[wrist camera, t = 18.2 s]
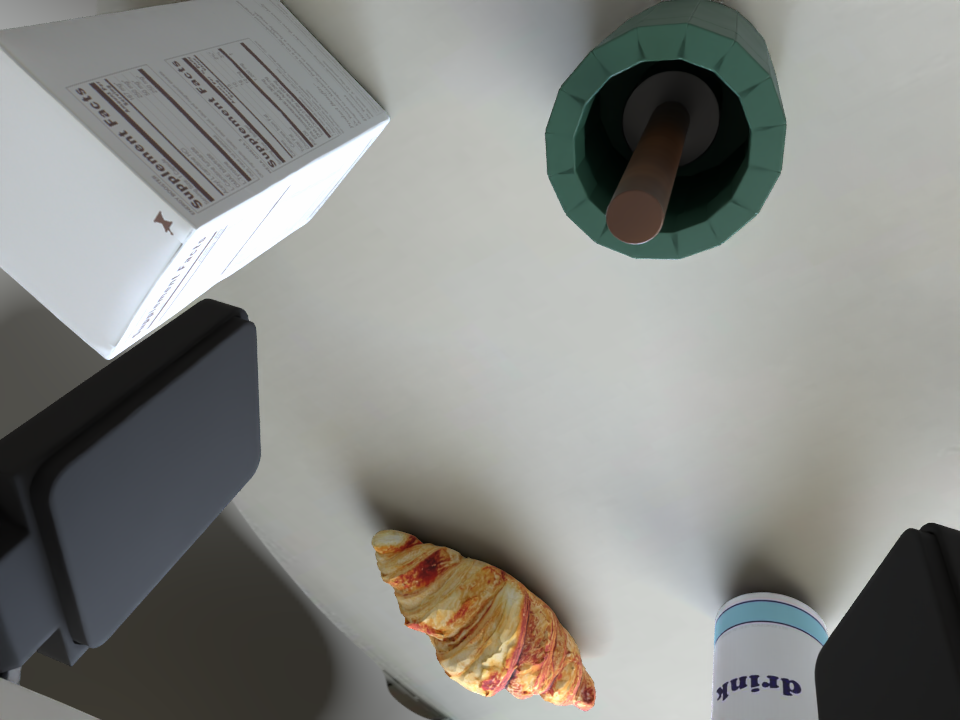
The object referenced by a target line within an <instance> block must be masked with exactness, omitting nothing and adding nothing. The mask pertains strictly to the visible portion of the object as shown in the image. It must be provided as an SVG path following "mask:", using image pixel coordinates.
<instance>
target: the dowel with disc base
mask: <svg viewBox="0 0 960 720" xmlns="http://www.w3.org/2000/svg"><path fill="white" fill-rule="evenodd" d="M722 99H723V94H722V87H721V84H720V81H719V79H718V77H717V75H716V74H715V73H714V72H713V71H710V70H707V69H705V68H702V67H699V66H697V65H694V64H691V63H689V62H686V61H683V60H680V59H677V60H662V61H659V62H657V63H655V64H654V65H653V66H651V67H650V68H649V69H648V70H647V71H646V72H645V73H644V75H643V76H642V77H641V79H640V80H639V82H638V83H637V85H636V86H635V88H634V89H633V91H632V92H631V94H630V96H629V97H628V99H627V101H626V103H625V106H624V109H623V114H622V131H623V136H624V139H625V141H626V143H627V145H628V147H629V148H630V150H631V151H632V152H633V155H632V157H631V159H630V161H629V163H628V166H627V168H626V170H625V172H624V174H623V176H622V178H621V180H620V182H619V184H618V187H617V189H616V191H615V193H614V195H613V197H612V199H611V201H610V203H609V205H608V208H607V211H606V222H607V226H608V228H609V230H610V232H611V233H612V234H613V235H614V236H615V237H616V238H617V239H619V240H620V241H622V242H625V243H628V244H642V243H645V242H647V241H649V240H651V239H653V238H654V237H655V236H656V235H657V234H658V233H659V231H660V230H661V228H662V225H663V222H664V218H665V214H666V210H667V206H668V203H669V199H670V195H671V191H672V188H673V184H674V180H675V176H676V172H677V169H678V167H682V166H685V165H687V164H690V163H692V162H693V161H695V160H697V159H698V158H699V157H701V156H702V155H703V154H704V153H705V152H706V151H707V150H708V149H709V147H710V146H711V145H712V143H713V141H714V140H715V138H716V135H717V133H718V129H719V126H720V118H721V109H722Z"/></svg>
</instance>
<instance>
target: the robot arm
mask: <svg viewBox="0 0 960 720" xmlns="http://www.w3.org/2000/svg"><path fill="white" fill-rule="evenodd" d="M260 457H261V445H260V418H259V390H258V363H257V335H256V327H255V325H254V323H253V322H251V321H249V320H248V315H247V313H246V311H244V310H243V309H241V308H238V307H235V306H232V305H229V304H225V303H222V302H219V301H216V300H212V299H204V300H202V301H200V302H198V303H197V304H195V305H194V306H193V307H191V308H190V309H188V310H187V311H185V312H184V313H182V314H181V315H180V316H178V317H177V318H175V319H174V320H172V321H171V322H169V323H168V324H167V325H165V326H164V327H162V328H161V329H159V330H158V331H157V332H155V333H154V334H152V335H151V336H149V337H148V338H146V339H145V340H144V341H142V342H141V343H139V344H138V345H136V346H135V347H133V348H132V349H131V350H129V351H128V352H126V353H125V354H123V355H122V356H121V357H119V358H118V359H116V360H115V361H113V362H112V363H111V364H109V365H108V366H106V367H105V368H103V369H102V370H100V371H99V372H98V373H96V374H95V375H93V376H92V377H90V378H89V379H87V380H86V381H85V382H83V383H82V384H80V385H79V386H77V387H76V388H74V389H73V390H72V391H70V392H69V393H67V394H66V395H64V396H63V397H61V398H60V399H59V400H57V401H56V402H54V403H53V404H51V405H50V406H49V407H47V408H46V409H44V410H43V411H42V412H40V413H38V414H37V415H36V416H34V417H33V418H31V419H30V420H28V421H27V422H26V423H24V424H23V425H21V426H20V427H18V428H17V429H15V430H14V431H13V432H11V433H10V434H8V435H7V436H5V437H4V438H2V439H1V440H0V720H100V719H98V718H96V717H93V716H91V715H89V714H86V713H84V712H82V711H79V710H77V709H74V708H73V707H70V706H68V705H65V704H63V703H61V702H58V701H56V700H53V699H51V698H49V697H46V696H43V695H41V694H39V693H36V692H34V691H32V690H29V689H27V688H24V687H22V686H19V684H20V675H21V666H22V665H23V664H24V663H25V662H26V661H27V660H28V659H29V657H31V656H32V654H33V653H34V652H35V651H36V650H37V652H38V653H41V654H43V655H45V656H48V657H50V658H52V659H55V660H57V661H59V662H62V663H64V664H66V665H69V666H73V664H74V663H75V662H76V661H77V660H78V659H79V658H80V657H81V656H82V654H83V653H84V652H85V651H86V650H87V649H88V648H89V647H91V648H96V647H99V646H100V645H102V644H103V643H104V642H106V640H108V639H109V638H110V636H111V635H112V634H113V633H114V632H115V631H116V630H117V629H118V627H119V626H120V625H121V624H122V623H123V622H124V621H125V620H126V618H127V617H128V616H129V615H130V614H131V613H132V612H133V611H134V609H135V608H136V607H137V606H138V605H139V604H140V603H141V602H142V600H143V599H144V598H145V597H146V596H147V595H148V594H149V593H150V591H151V590H152V589H153V588H154V587H155V586H156V585H157V583H158V582H159V581H160V580H161V579H162V578H163V577H164V576H165V575H166V573H167V572H168V571H169V570H170V569H171V568H172V567H173V565H174V564H175V563H176V562H177V561H178V560H179V559H180V558H181V556H182V555H183V554H184V553H185V552H186V551H187V550H188V549H189V547H190V546H191V545H192V544H193V543H194V542H195V541H196V539H197V538H198V537H199V536H200V535H201V534H202V533H203V532H204V531H205V529H206V528H207V527H208V526H209V525H210V524H211V522H212V521H213V520H214V519H215V518H216V517H217V516H218V515H219V514H220V512H221V511H222V510H223V509H224V508H225V507H226V506H227V504H228V503H229V502H230V501H231V500H232V499H233V498H234V497H235V496H236V495H237V493H238V492H239V491H240V490H241V489H242V488H243V487H244V485H245V484H246V483H247V482H248V481H249V480H250V479H251V478H252V476H253V475H254V473H255V471H256V470H257V467H258V465H259V462H260ZM814 674H815V688H816V698H817V709H818V719H819V720H960V531H958V530H955V529H952V528H948V527H945V526H942V525H939V524H936V523H927V524H926V525H924V526H922V527H921V529H920V530H917V529H913V528H909V529H907V530H905V531H904V533H903V534H902V535H901V536H900V538H899V539H898V540H897V542H896V543H895V545H894V546H893V548H892V549H891V550H890V552H889V553H888V555H887V556H886V557H885V559H884V560H883V562H882V563H881V565H880V566H879V567H878V569H877V570H876V572H875V573H874V575H873V576H872V577H871V579H870V580H869V582H868V583H867V584H866V586H865V587H864V589H863V590H862V592H861V593H860V594H859V596H858V597H857V599H856V600H855V601H854V603H853V604H852V606H851V607H850V609H849V610H848V611H847V613H846V614H845V616H844V617H843V619H842V620H841V621H840V623H839V624H838V626H837V627H836V628H835V630H834V631H833V633H832V634H831V636H830V637H829V638H828V640H827V641H826V643H825V644H824V645H823V647H822V648H821V650H820V652H819V654H818V657H817V660H816V664H815V672H814Z"/></svg>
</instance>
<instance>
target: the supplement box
mask: <svg viewBox="0 0 960 720" xmlns="http://www.w3.org/2000/svg"><path fill="white" fill-rule="evenodd" d="M389 121H390V116H389V115H388V114H387V113H386V112H385V111H384V110H383V108H382V107H381V106H380V105H379V104H378V103H377V102H376V101H375V100H374V99H373V98H372V97H371V96H370V95H369V94H368V93H367V92H366V91H365V90H364V89H363V88H362V87H361V85H360V84H359V83H358V82H357V81H356V80H355V79H354V78H353V77H352V76H351V75H350V74H349V73H348V72H347V71H346V70H345V69H344V68H343V67H342V66H341V65H340V64H339V63H338V61H337V60H336V59H335V58H334V57H333V56H332V55H331V54H330V53H329V52H328V51H327V50H326V49H325V48H324V47H323V46H322V45H321V44H320V43H319V42H318V41H317V40H316V38H315V37H314V36H313V35H312V34H311V33H310V32H309V31H308V30H307V29H306V28H305V27H304V26H303V25H302V24H301V23H300V22H299V21H298V20H297V19H296V18H295V16H294V15H293V14H292V13H291V12H290V11H289V10H288V9H287V8H286V7H285V6H284V5H283V4H282V3H281V2H280V1H279V0H191V1H185V2H179V3H172V4H165V5H159V6H153V7H147V8H140V9H134V10H128V11H122V12H116V13H109V14H102V15H95V16H89V17H82V18H76V19H70V20H64V21H57V22H51V23H46V24H38V25H32V26H24V27H18V28H11V29H4V30H0V267H1V268H2V269H3V270H4V271H5V272H6V273H7V274H9V275H10V276H11V277H12V278H13V279H14V280H16V281H17V282H18V283H19V284H20V285H21V286H22V287H24V288H25V289H26V290H27V291H28V292H29V293H30V294H32V295H33V296H34V297H35V298H36V299H37V300H38V301H39V302H40V303H42V304H43V305H44V306H45V307H46V308H47V309H49V311H51V312H52V313H53V314H54V315H55V316H56V317H57V318H58V319H60V320H61V321H62V322H63V323H64V324H65V325H67V326H68V327H69V328H70V329H71V330H72V331H73V332H75V333H76V334H77V335H78V336H79V337H80V338H82V339H83V340H84V341H85V342H86V343H87V344H89V345H90V346H91V347H92V348H93V349H94V350H96V351H97V352H98V353H99V354H100V355H102V356H103V357H104V358H105V359H108V360H109V359H112V358H113V357H115V356H116V355H117V354H119V353H120V352H122V351H123V350H125V349H126V348H127V347H129V346H130V345H132V344H133V343H135V342H136V341H137V340H139V339H140V338H141V337H143V336H144V335H146V334H147V333H149V332H150V331H152V330H153V329H154V328H156V327H157V326H159V325H160V324H162V323H163V322H164V321H166V320H167V319H169V318H170V317H172V316H173V315H174V314H176V313H177V312H179V311H180V310H181V309H183V308H184V307H185V306H187V305H188V304H189V303H191V302H192V301H193V300H195V299H196V298H197V297H198V296H200V295H201V294H203V293H204V292H206V291H207V290H208V289H210V288H211V287H212V286H213V285H215V284H216V283H218V282H219V281H221V280H223V279H224V278H226V277H228V276H230V275H231V274H233V273H234V272H236V271H237V270H239V269H240V268H242V267H243V266H245V265H246V264H248V263H249V262H250V261H252V260H253V259H255V258H256V257H258V256H259V255H260V254H262V253H263V252H265V251H266V250H268V249H269V248H270V247H272V246H273V245H275V244H276V243H278V242H279V241H280V240H282V239H283V238H285V237H286V236H288V235H289V234H291V233H292V232H294V231H295V230H297V229H298V228H300V227H301V226H303V225H304V224H306V223H307V222H309V220H310V219H311V218H312V217H313V216H314V215H315V214H316V212H317V211H318V210H319V209H320V207H321V206H322V205H323V204H324V203H325V201H326V200H327V199H328V198H329V196H330V195H331V194H332V193H333V191H334V190H335V189H336V188H337V186H338V185H339V184H340V182H341V181H342V180H343V179H344V177H345V176H346V175H347V174H348V172H349V171H350V170H351V169H352V167H353V166H354V165H355V164H356V162H357V161H358V160H359V159H360V157H361V156H362V155H363V154H364V152H365V151H366V150H367V149H368V148H369V146H370V145H371V144H372V143H373V141H374V140H375V139H376V138H377V136H378V135H379V134H380V133H381V132H382V130H383V129H384V128H385V126H386V125H387V124H388V122H389Z"/></svg>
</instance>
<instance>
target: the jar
mask: <svg viewBox="0 0 960 720" xmlns="http://www.w3.org/2000/svg"><path fill="white" fill-rule="evenodd" d="M677 59H680V60H683V61H686V62H689V63H691V64H694V65H697V66H699V67H702V68H705V69H707V70H710V71H713V72H714V73H715V74H716V75H717V77H718V79H719V81H720V84H721V87H722V94H723V99H722V109H721V118H720V126H719V129H718V133H717V135H716V138H715V140H714V141H713V143H712V145H711V146H710V147H709V149H708V150H707V151H706V152H705V153H704V154H703V155H702V156H701V157H699V158H698V159H697V160H695V161H693V162H692V163H690V164H687V165H685V166H682V167H678V169H677V172H676V176H675V180H674V184H673V188H672V191H671V195H670V199H669V203H668V206H667V210H666V214H665V218H664V222H663V225H662V228H661V230H660V231H659V233H658V234H657V235H656V236H655V237H654V238H653V239H651V240H649V241H647V242H645V243H642V244H628V243H625V242H622V241H620V240H619V239H617V238H616V237H615V236H614V235H613V234H612V233H611V232H610V230H609V228H608V226H607V222H606V211H607V208H608V205H609V203H610V201H611V199H612V197H613V195H614V193H615V191H616V189H617V187H618V184H619V182H620V180H621V178H622V176H623V174H624V172H625V170H626V168H627V166H628V163H629V161H630V159H631V157H632V155H633V152H632V151H631V150H630V148H629V147H628V145H627V143H626V141H625V139H624V136H623V131H622V114H623V109H624V106H625V103H626V101H627V99H628V97H629V96H630V94H631V92H632V91H633V89H634V88H635V86H636V85H637V83H638V82H639V80H640V79H641V77H642V76H643V75H644V73H645V72H646V71H647V70H648V69H649V68H650V67H651V66H653V65H654V64H655V63H657V62H659V61H662V60H677ZM786 126H787V125H786V118H785V113H784V109H783V105H782V100H781V96H780V91H779V87H778V82H777V78H776V74H775V70H774V67H773V64H772V61H771V58H770V55H769V52H768V49H767V46H766V43H765V40H764V39H763V37H762V36H761V35H760V34H759V33H758V32H757V30H756V29H755V28H754V27H753V26H752V24H751V23H750V22H749V21H748V20H746V19H745V18H744V17H743V16H742V15H741V14H740V13H739V12H737V11H736V10H733V9H731V8H729V7H727V6H725V5H722V4H720V3H717V2H713V1H710V0H671V1H664V2H661V3H659V4H657V5H655V6H653V7H651V8H649V9H647V10H645V11H643V12H642V13H640V14H638V15H636V16H634V17H633V18H631V19H629V20H628V21H626V22H625V23H624V24H623V25H621V26H620V27H619V28H618V29H617V30H615V31H614V32H613V33H612V34H611V35H609V36H608V37H607V38H606V39H605V40H603V41H602V42H601V43H600V44H599V45H598V46H596V47H595V48H594V49H593V50H592V51H590V52H589V54H588V55H587V56H586V57H585V58H584V60H583V61H582V62H581V63H580V64H579V65H578V67H577V68H576V69H575V70H574V71H573V73H572V74H571V75H570V76H569V77H568V78H567V80H566V81H565V82H564V83H563V84H562V86H561V88H560V89H559V91H558V94H557V97H556V100H555V103H554V106H553V109H552V112H551V115H550V118H549V121H548V124H547V127H546V132H545V141H546V158H547V174H548V177H549V180H550V182H551V184H552V186H553V188H554V190H555V193H556V195H557V197H558V199H559V201H560V203H561V205H562V208H563V210H564V212H565V213H566V215H567V216H568V217H569V218H570V219H571V220H572V221H573V222H574V223H575V224H576V225H577V226H578V227H579V228H580V229H582V230H583V231H584V232H585V233H586V234H587V235H588V236H589V237H590V238H591V239H592V240H593V241H594V242H596V243H597V244H600V245H602V246H605V247H607V248H610V249H612V250H615V251H617V252H620V253H622V254H624V255H627V256H629V257H632V258H636V259H675V260H677V259H682V258H685V257H688V256H691V255H694V254H696V253H699V252H702V251H705V250H708V249H711V248H714V247H717V246H719V245H721V244H722V243H724V242H725V241H726V240H728V239H729V238H730V237H731V236H732V235H734V234H735V233H736V232H737V231H739V230H740V229H741V228H742V227H743V226H745V225H746V224H747V223H748V222H749V221H751V220H752V219H753V218H754V217H755V216H756V215H757V214H758V213H759V212H760V210H761V208H762V206H763V205H764V203H765V201H766V199H767V197H768V196H769V194H770V192H771V190H772V188H773V187H774V185H775V183H776V181H777V179H778V177H779V176H780V174H781V170H782V163H783V154H784V144H785V135H786Z"/></svg>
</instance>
